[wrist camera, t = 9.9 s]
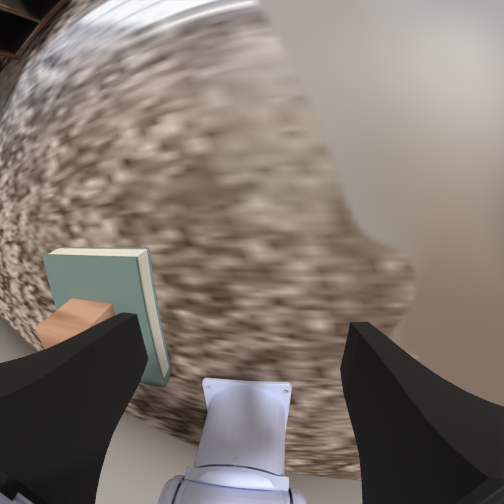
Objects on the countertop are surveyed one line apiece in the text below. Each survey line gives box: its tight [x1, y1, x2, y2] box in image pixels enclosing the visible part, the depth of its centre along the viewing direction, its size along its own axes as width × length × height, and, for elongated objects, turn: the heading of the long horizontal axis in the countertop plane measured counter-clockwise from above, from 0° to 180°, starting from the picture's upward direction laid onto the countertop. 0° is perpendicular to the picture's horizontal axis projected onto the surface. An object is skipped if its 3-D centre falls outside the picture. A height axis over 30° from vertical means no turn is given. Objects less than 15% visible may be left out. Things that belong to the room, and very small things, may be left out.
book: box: [42, 247, 172, 387], centre depth 20 cm, size 12×10×2 cm
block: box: [36, 298, 115, 349], centre depth 17 cm, size 4×4×5 cm
